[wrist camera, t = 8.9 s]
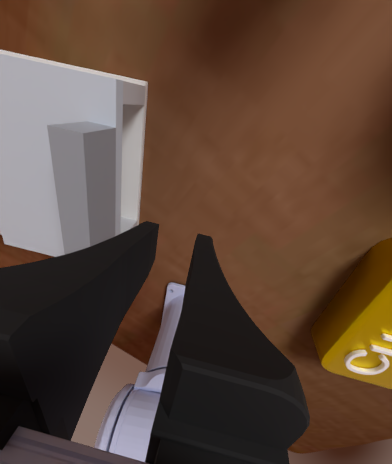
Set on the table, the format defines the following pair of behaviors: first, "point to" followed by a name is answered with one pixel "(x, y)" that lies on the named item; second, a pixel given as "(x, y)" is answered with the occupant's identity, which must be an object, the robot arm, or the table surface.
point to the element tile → (360, 322)
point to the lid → (59, 156)
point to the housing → (123, 138)
